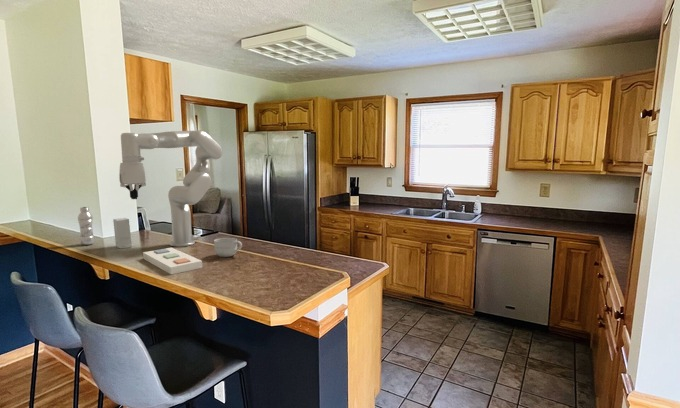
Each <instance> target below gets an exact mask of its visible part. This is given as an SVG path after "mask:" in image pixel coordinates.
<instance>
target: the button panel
mask: <svg viewBox="0 0 680 408" xmlns="http://www.w3.org/2000/svg"><path fill="white" fill-rule="evenodd" d="M161 249H162V248H161ZM161 249H159V250H161ZM165 249H167V250H169V252H167V253H161V254H156V253H154V251H155V250H150V251H143V252H142V257H143V258H142V259H144V260H145V261H146V262H148V263H149V264H152V265H154V266H155V267H157V268H159V269H161V270H162V271H164V272H165V273H168V274H169V275H176V274H180V273H185V272H189V271H194V270H198V269H203V261H202V260H201V259H199V258H198V257H197V258H196V257H194V256H193V255H190V254H187V253H185V252H183V251H180V250H179V249H175V248H174V247H167V248H165ZM173 253H176V254H178V255H179V257H175V258H170V259H166V258H164V257H163V255H167V254H173ZM182 258H186V259H189V260H190V262H187V263H182V264H176V263H174V262H173V260H177V259H182Z"/></svg>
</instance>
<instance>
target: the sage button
mask: <svg viewBox="0 0 680 408" xmlns="http://www.w3.org/2000/svg"><path fill="white" fill-rule="evenodd" d="M163 257H164V258H166V259H170V258H175V257H179V255H178V254H176V253H173V254H167V255H163Z"/></svg>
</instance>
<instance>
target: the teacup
mask: <svg viewBox="0 0 680 408" xmlns="http://www.w3.org/2000/svg"><path fill="white" fill-rule="evenodd" d="M213 242H214V243H213V247H214V249H213V251H214V252H215V253H214V254H215V255H217V256H219V257H222V258H227V257H233V256H234V255H235V254H236V253H237V252H238V251H239V250H241V249H242V247H243V244H242V242H241V241H239V240H238V239H237V238H234V237H225V238H224V237H223V238H215V239H214V240H213Z"/></svg>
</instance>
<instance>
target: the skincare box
mask: <svg viewBox="0 0 680 408" xmlns="http://www.w3.org/2000/svg"><path fill="white" fill-rule="evenodd" d="M112 220H113V221H112V222H113V231H114V237H115V239H114V240H115V241H114V242H115V247H116V248H117V249H121V250H122V249H127V248H132V247H133V245H132V234H131V227H130V226H131V225H130V219H129V218H126V217H120V218H112Z"/></svg>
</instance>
